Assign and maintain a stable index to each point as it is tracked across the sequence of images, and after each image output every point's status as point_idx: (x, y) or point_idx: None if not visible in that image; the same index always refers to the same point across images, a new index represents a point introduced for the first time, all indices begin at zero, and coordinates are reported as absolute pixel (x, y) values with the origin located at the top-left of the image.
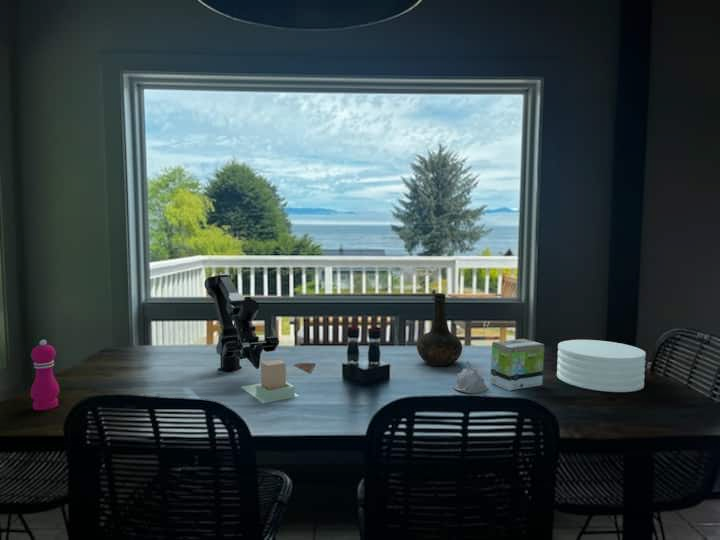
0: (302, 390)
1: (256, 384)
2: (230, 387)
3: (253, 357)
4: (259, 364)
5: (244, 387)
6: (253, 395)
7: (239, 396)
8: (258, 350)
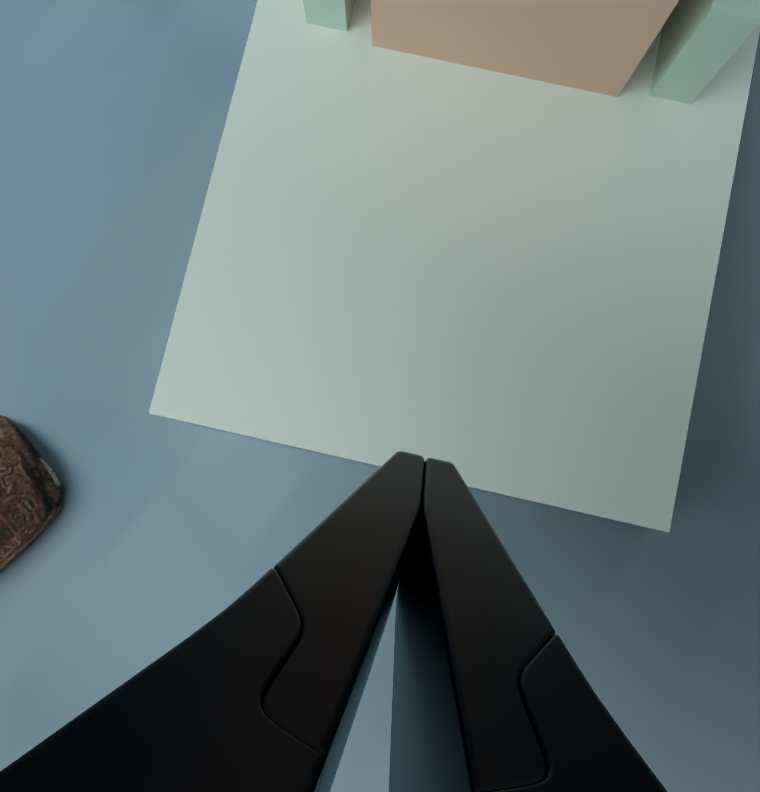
0: (71, 14)
1: None
2: None
3: (529, 626)
4: (381, 467)
5: (642, 470)
6: (732, 106)
7: (753, 371)
8: (235, 756)
